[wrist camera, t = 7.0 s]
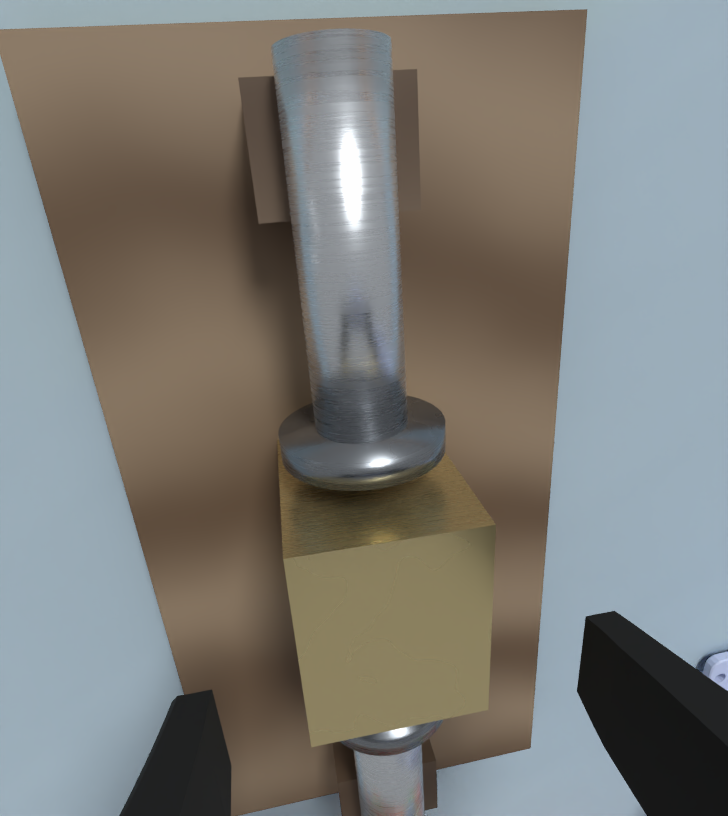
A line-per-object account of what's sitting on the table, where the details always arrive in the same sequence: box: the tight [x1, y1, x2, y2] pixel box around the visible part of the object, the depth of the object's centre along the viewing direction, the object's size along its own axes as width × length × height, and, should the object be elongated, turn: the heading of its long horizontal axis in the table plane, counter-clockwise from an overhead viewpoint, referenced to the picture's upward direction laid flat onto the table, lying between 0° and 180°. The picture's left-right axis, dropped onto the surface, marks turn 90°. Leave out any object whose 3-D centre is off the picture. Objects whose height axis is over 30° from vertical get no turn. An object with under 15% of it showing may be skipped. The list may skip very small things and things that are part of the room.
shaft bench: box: [0, 9, 587, 816], centre depth 15 cm, size 24×12×3 cm, turn 4°
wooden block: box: [277, 439, 496, 747], centre depth 13 cm, size 5×4×5 cm
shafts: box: [271, 28, 446, 816], centre depth 13 cm, size 22×4×4 cm, turn 4°
